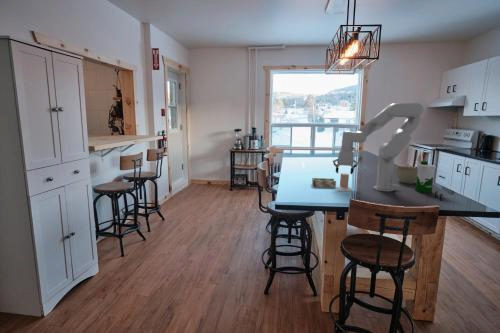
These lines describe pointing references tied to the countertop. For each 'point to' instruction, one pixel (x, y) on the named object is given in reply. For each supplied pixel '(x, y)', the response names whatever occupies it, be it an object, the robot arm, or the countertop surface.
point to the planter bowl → (407, 174)
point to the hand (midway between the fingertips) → (344, 173)
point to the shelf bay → (323, 182)
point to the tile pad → (344, 189)
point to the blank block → (344, 180)
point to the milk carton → (425, 177)
